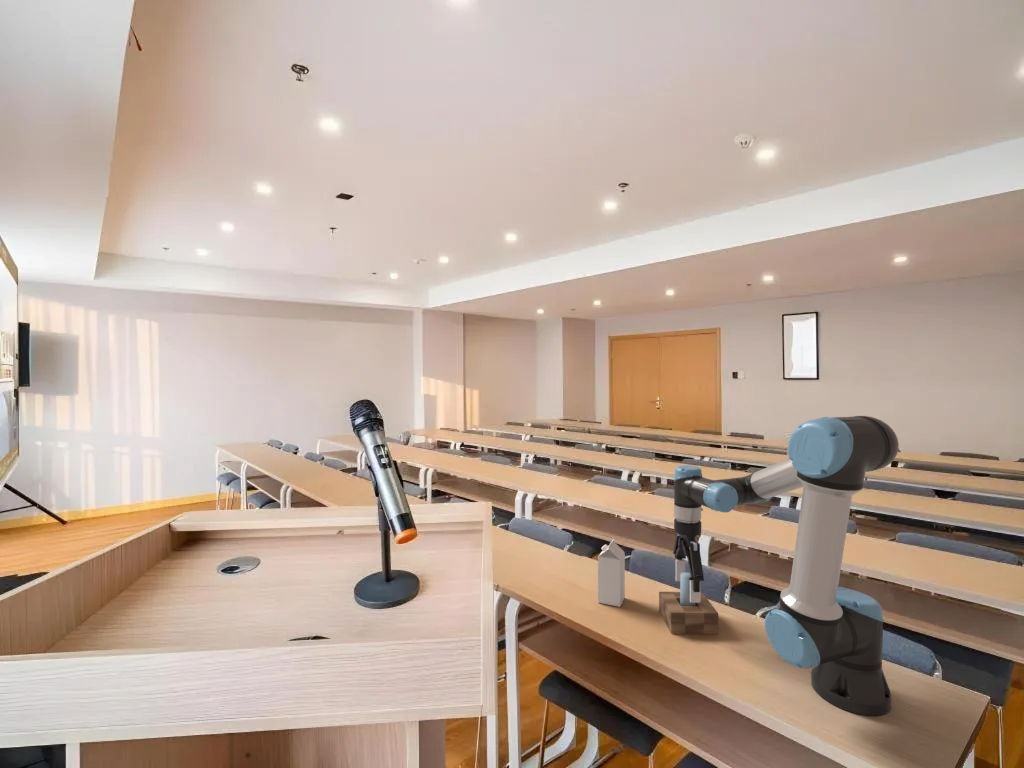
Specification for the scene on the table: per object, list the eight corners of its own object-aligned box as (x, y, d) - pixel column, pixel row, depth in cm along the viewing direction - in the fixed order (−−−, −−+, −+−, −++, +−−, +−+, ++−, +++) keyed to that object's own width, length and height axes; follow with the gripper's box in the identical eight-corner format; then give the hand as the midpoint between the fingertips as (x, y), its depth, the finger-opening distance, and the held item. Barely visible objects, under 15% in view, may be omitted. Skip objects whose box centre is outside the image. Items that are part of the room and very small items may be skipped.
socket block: (718, 634, 138) (718, 613, 138) (671, 633, 138) (671, 612, 138) (701, 611, 151) (702, 592, 151) (659, 610, 151) (659, 591, 151)
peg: (696, 625, 143) (696, 578, 142) (682, 625, 143) (682, 577, 142) (691, 618, 147) (692, 572, 146) (678, 618, 147) (678, 572, 146)
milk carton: (624, 597, 160) (624, 540, 160) (620, 607, 154) (620, 547, 153) (603, 593, 163) (603, 537, 163) (597, 603, 157) (597, 544, 156)
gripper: (716, 533, 131) (716, 612, 132) (687, 507, 156) (686, 573, 157) (688, 533, 131) (688, 611, 132) (663, 507, 156) (663, 573, 157)
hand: (687, 591), depth 144 cm, fingers open, 13 cm apart
